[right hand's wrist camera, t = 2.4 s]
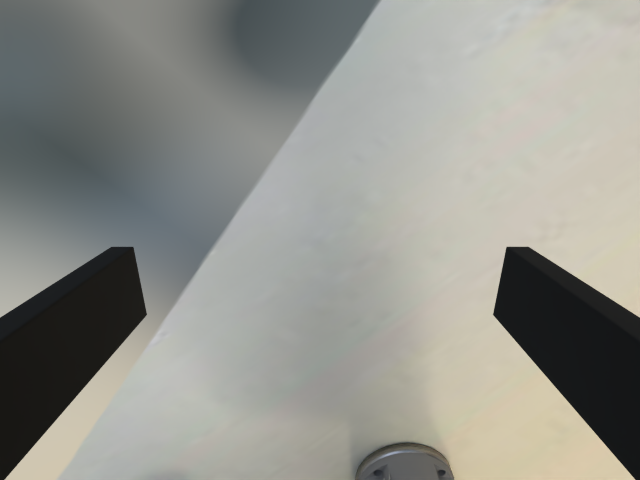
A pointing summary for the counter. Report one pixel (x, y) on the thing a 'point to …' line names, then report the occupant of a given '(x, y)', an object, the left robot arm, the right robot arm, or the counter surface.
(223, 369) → the counter surface
